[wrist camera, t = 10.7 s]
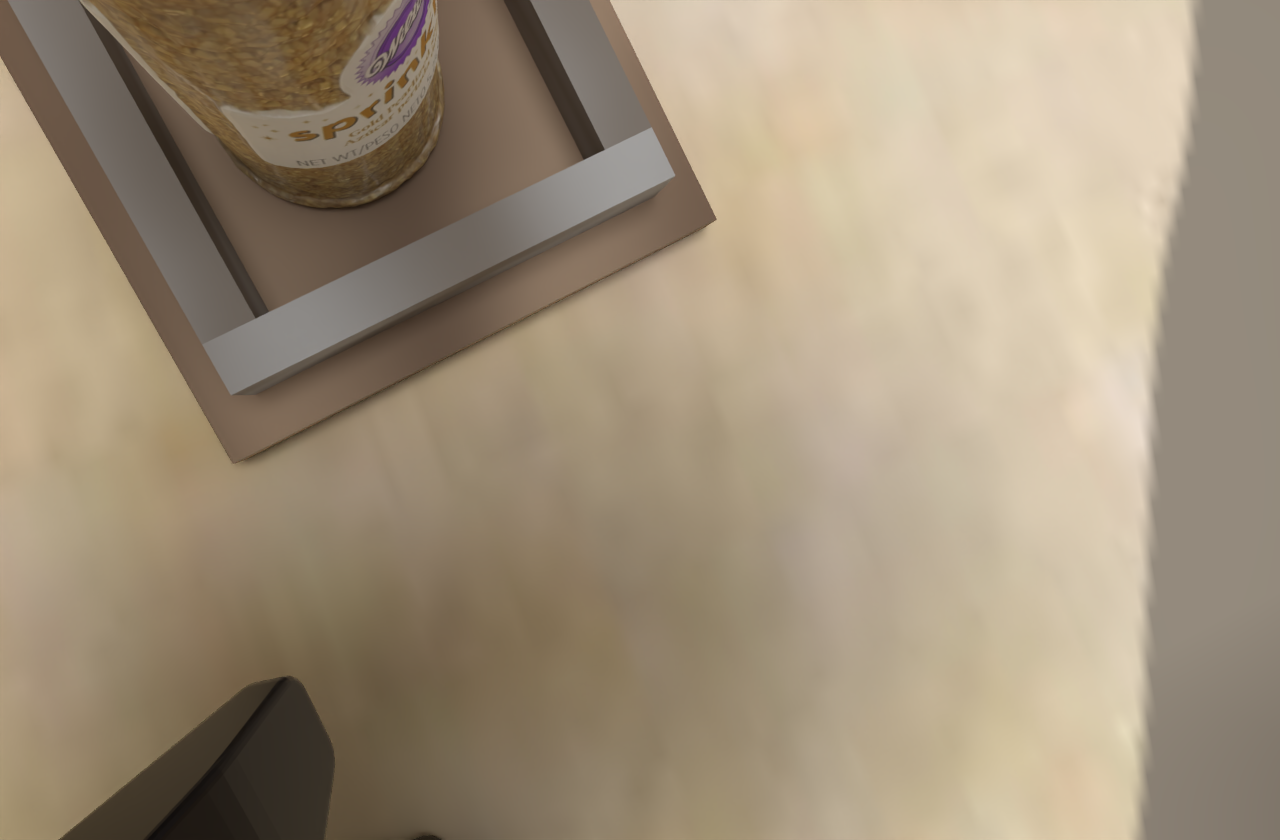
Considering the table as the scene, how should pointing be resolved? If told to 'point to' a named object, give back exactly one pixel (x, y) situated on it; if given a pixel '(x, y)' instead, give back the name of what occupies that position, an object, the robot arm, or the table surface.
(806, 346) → the table surface
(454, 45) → the socket board
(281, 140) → the sprinkles bottle
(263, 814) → the robot arm
